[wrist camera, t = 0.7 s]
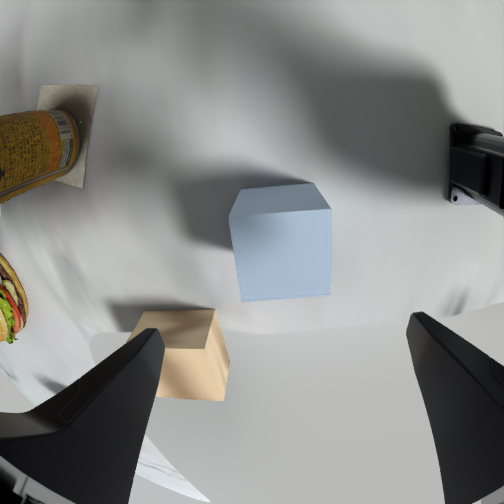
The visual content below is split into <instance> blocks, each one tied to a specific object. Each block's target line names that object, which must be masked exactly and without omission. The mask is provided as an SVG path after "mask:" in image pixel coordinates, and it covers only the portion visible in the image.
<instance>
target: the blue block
mask: <svg viewBox="0 0 504 504" xmlns="http://www.w3.org/2000/svg"><path fill="white" fill-rule="evenodd" d="M228 219H229V226H230V232H231V239H232V245H233V251H234V257H235V263H236V270H237V276H238V282H239V288H240V294H241V300H242V302H243V301H261V300H276V299H290V298H303V297H314V296H326V295H330V292H331V255H332V221H331V208H330V206H329V205H328V203H327V202H326V200H325V199H324V197H323V196H322V195H321V193H320V192H319V190H318V189H317V188H316V186H315V185H314V183H309V184H294V185H281V186H269V187H259V188H248V189H241V190H240V192H239V194H238V196H237V198H236V201H235V203H234V205H233V207H232V210H231V212H230V214H229V216H228Z"/></svg>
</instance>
